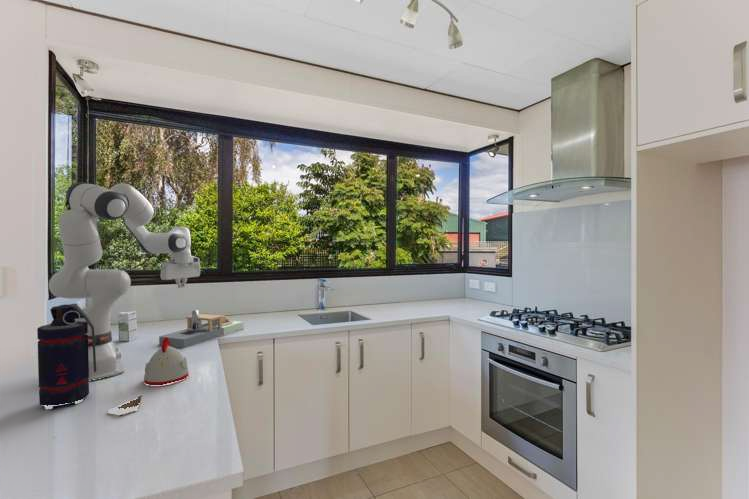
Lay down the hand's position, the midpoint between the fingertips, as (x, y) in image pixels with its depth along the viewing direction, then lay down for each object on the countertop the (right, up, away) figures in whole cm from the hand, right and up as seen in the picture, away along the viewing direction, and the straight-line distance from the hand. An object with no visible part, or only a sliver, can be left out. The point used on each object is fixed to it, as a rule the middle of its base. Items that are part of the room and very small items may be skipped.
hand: (181, 287), depth 181 cm
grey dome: (+20, -28, -48) cm, 59 cm away
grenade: (0, -29, -66) cm, 72 cm away
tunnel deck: (+6, -27, +13) cm, 30 cm away
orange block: (+9, -23, +22) cm, 33 cm away
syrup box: (-30, -28, +6) cm, 41 cm away
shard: (+20, -29, -71) cm, 80 cm away
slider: (+7, -22, +16) cm, 29 cm away
